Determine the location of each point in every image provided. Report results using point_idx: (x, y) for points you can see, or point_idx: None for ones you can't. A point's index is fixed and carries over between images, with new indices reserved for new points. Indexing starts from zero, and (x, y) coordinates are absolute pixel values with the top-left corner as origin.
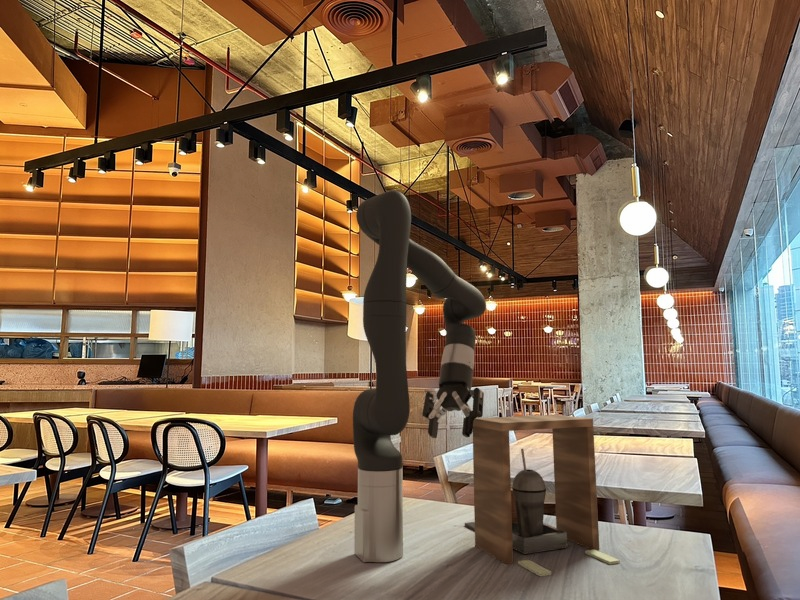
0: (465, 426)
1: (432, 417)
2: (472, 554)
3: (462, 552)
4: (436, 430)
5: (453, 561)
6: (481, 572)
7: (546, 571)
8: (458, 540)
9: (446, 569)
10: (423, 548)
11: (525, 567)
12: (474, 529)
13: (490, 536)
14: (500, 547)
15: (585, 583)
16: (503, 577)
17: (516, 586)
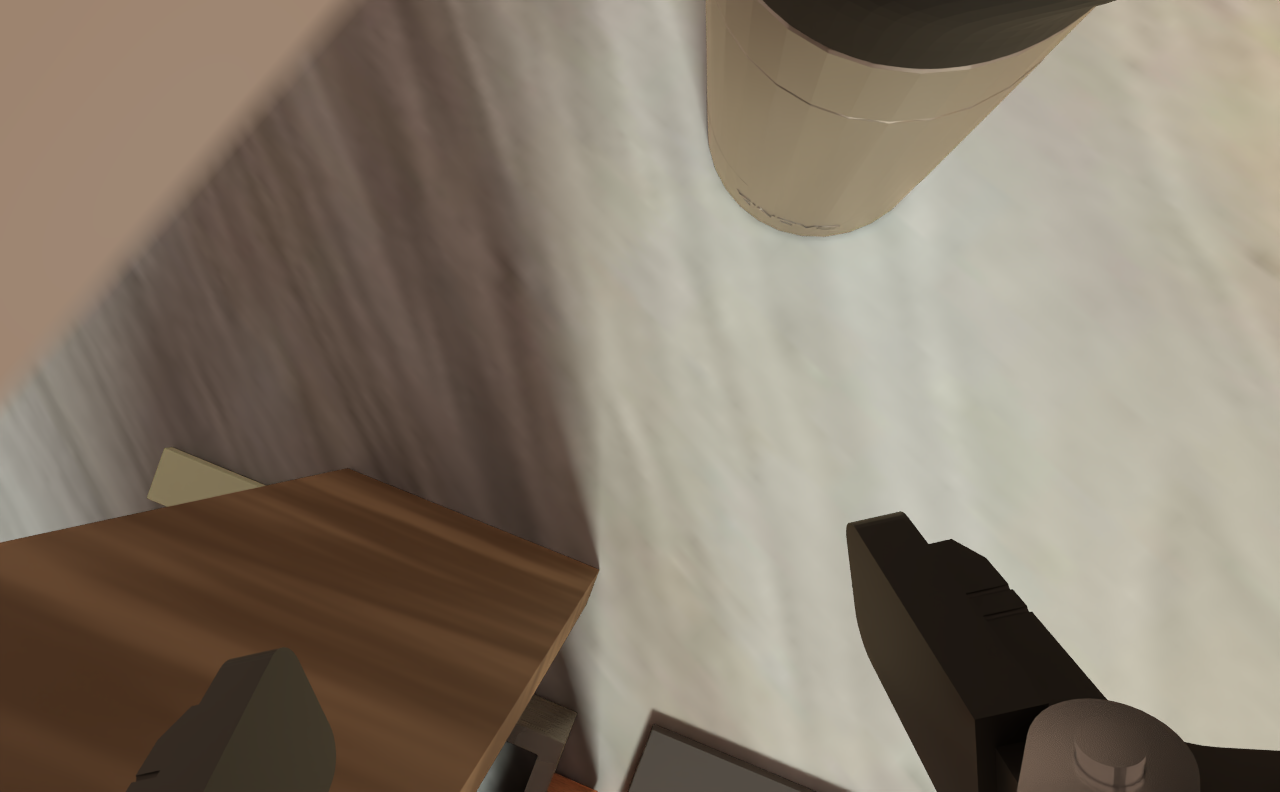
0: (177, 745)
1: (1030, 735)
2: (528, 461)
3: (578, 450)
4: (901, 698)
5: (525, 326)
6: (356, 312)
7: (159, 486)
8: (717, 580)
9: (478, 229)
10: (751, 356)
11: (260, 484)
12: (770, 776)
13: (434, 529)
14: (360, 490)
15: (25, 511)
16: (263, 333)
17: (177, 295)
